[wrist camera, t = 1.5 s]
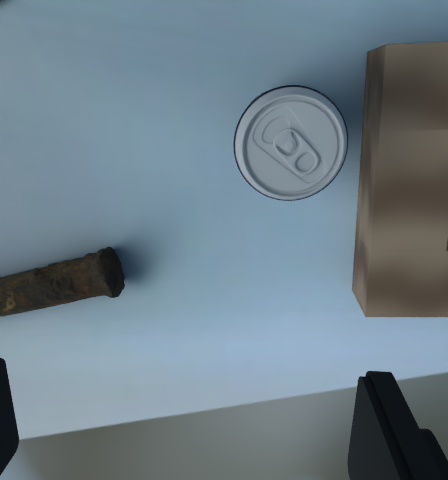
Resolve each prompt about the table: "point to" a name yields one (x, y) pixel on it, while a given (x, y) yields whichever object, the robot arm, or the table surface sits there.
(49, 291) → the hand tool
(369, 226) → the holder block
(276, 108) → the beverage can
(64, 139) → the table surface
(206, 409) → the table surface
